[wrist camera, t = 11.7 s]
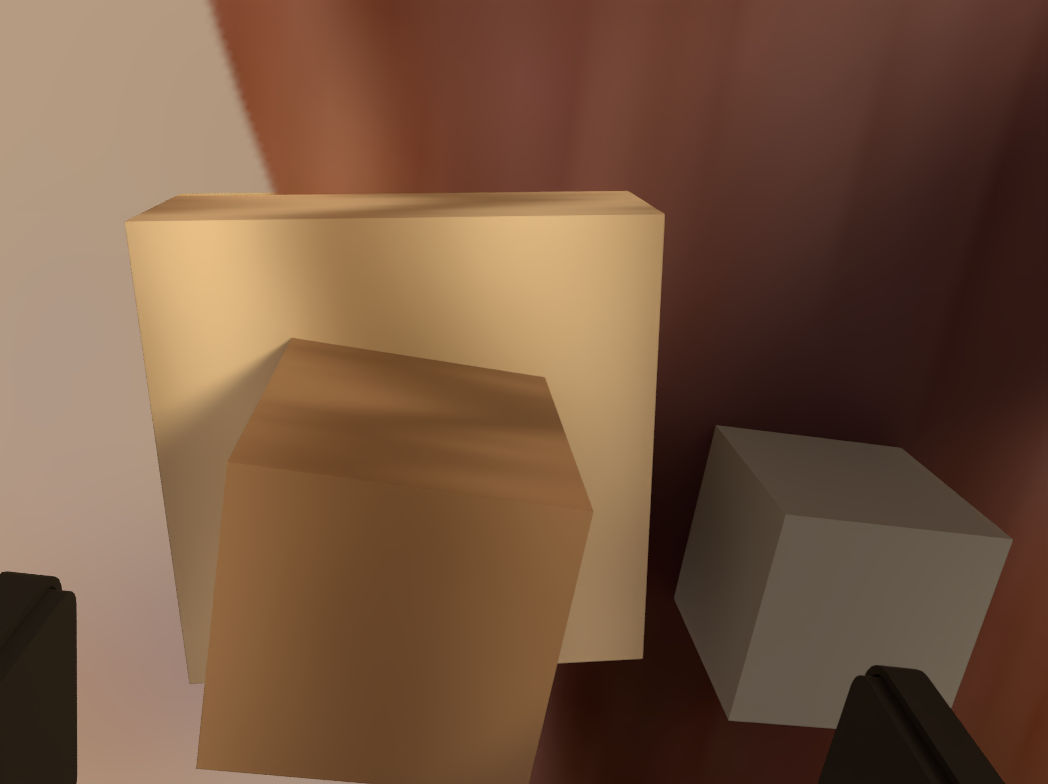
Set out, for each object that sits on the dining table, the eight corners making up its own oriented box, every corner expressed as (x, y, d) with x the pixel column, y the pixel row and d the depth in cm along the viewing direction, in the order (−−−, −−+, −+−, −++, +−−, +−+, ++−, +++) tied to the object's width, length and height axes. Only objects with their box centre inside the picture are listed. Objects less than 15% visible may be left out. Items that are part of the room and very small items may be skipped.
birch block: (624, 188, 22) (664, 214, 18) (610, 569, 25) (642, 658, 21) (180, 193, 21) (124, 221, 17) (227, 587, 24) (189, 683, 20)
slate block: (899, 446, 24) (1013, 539, 19) (847, 613, 26) (940, 736, 21) (715, 423, 23) (785, 514, 19) (673, 596, 25) (728, 720, 20)
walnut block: (544, 377, 19) (594, 511, 13) (499, 593, 20) (525, 796, 15) (291, 337, 18) (226, 461, 12) (265, 565, 19) (196, 768, 14)
